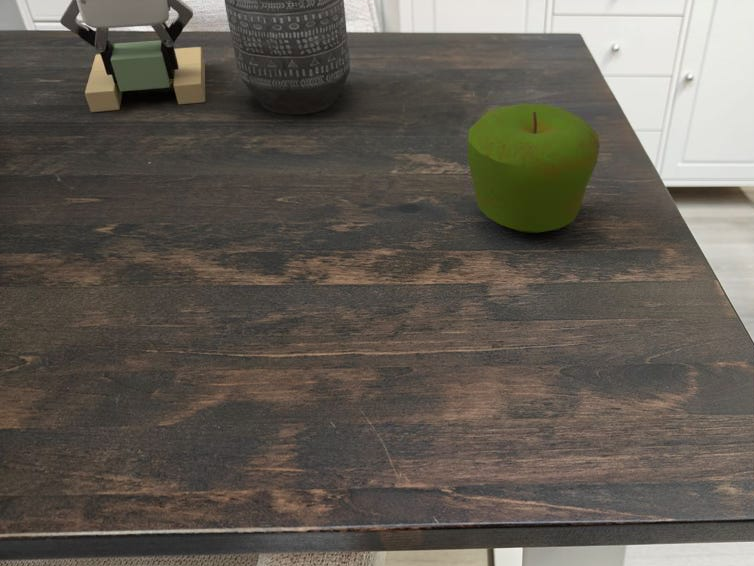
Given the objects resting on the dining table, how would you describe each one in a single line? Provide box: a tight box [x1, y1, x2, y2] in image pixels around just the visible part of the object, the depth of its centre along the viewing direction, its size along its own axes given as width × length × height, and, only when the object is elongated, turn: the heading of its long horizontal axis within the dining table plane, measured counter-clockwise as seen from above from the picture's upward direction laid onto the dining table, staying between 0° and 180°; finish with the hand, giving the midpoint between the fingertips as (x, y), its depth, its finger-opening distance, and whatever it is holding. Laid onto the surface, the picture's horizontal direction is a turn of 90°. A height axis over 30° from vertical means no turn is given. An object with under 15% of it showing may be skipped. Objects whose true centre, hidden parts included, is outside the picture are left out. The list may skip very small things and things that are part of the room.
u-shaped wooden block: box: [84, 46, 206, 113], centre depth 100 cm, size 14×14×2 cm
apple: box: [467, 103, 601, 234], centre depth 73 cm, size 12×12×11 cm
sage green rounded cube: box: [111, 39, 171, 92], centre depth 96 cm, size 6×6×4 cm
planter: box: [224, 0, 351, 116], centre depth 94 cm, size 14×14×15 cm
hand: (144, 76), depth 97 cm, fingers closed on sage green rounded cube, 5 cm apart
